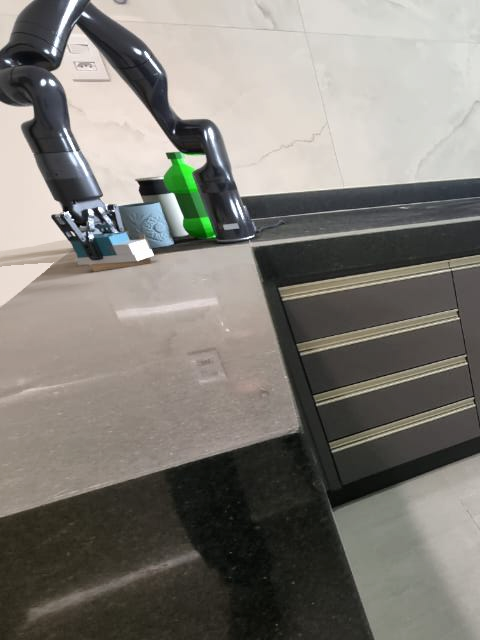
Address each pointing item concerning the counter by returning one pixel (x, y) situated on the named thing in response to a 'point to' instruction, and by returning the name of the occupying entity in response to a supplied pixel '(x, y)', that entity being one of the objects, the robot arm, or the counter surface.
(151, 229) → the blue embossed mug
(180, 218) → the travel mug
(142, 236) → the wooden tray
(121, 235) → the two-tone teal block
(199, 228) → the plastic bottle
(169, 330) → the counter surface
